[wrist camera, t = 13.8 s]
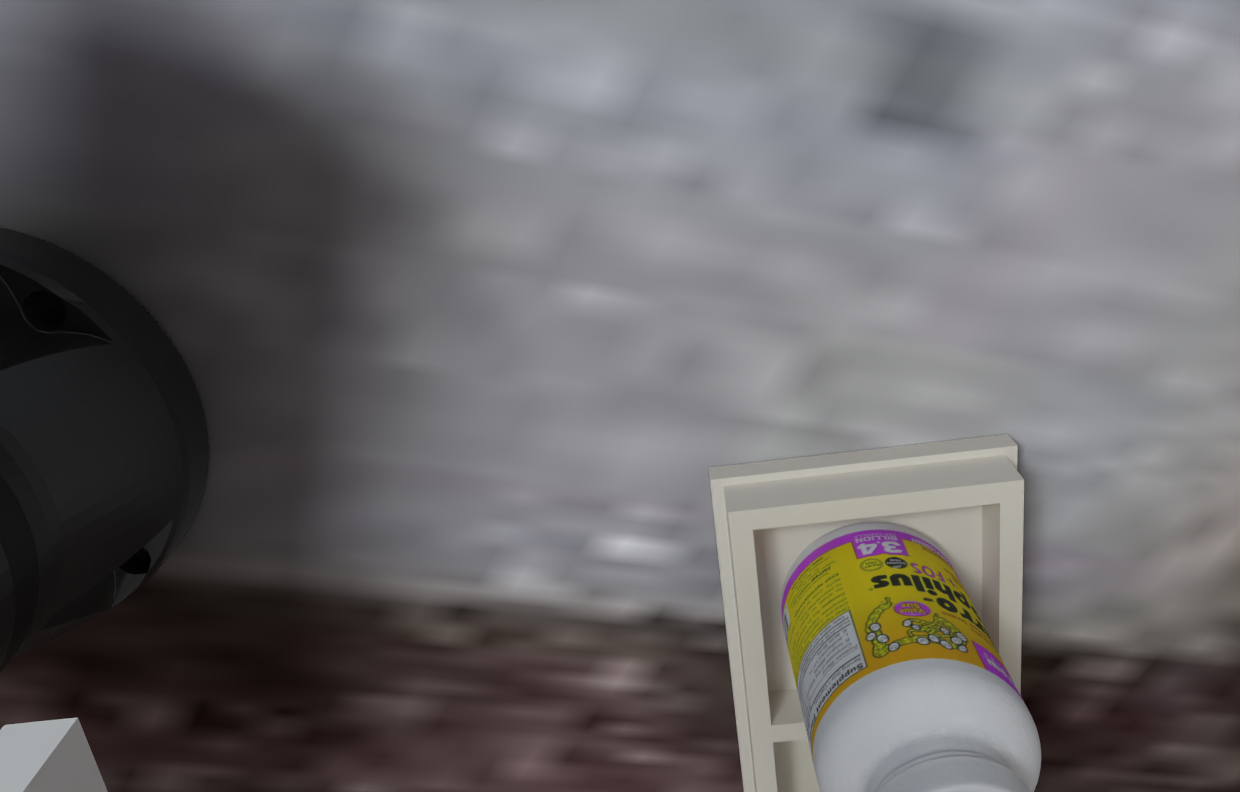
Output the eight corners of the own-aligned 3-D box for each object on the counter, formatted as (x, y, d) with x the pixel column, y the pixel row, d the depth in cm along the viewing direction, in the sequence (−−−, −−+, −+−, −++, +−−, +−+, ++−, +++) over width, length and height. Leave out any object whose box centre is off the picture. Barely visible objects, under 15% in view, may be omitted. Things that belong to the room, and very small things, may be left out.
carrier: (1003, 848, 46) (1028, 905, 43) (752, 871, 46) (760, 928, 44) (1008, 434, 38) (1037, 470, 35) (708, 467, 39) (714, 506, 36)
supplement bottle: (989, 567, 39) (1145, 828, 27) (881, 690, 41) (982, 981, 29) (846, 482, 38) (943, 716, 26) (741, 613, 40) (788, 884, 28)
